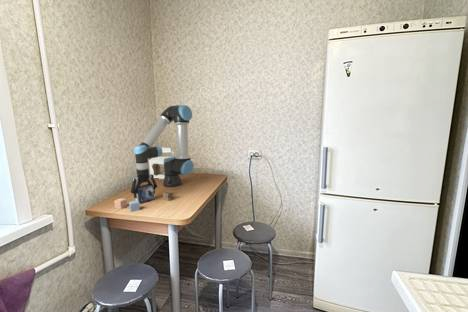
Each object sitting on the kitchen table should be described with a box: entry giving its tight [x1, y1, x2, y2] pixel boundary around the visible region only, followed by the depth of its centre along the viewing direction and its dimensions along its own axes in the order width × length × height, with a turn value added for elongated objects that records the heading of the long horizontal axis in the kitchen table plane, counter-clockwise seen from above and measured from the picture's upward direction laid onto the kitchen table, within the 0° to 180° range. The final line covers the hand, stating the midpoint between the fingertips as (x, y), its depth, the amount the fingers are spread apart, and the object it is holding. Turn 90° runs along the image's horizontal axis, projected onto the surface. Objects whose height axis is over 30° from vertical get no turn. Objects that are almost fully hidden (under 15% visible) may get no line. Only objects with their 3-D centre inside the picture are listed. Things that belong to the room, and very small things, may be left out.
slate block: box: [128, 199, 140, 212], centre depth 153 cm, size 5×5×5 cm
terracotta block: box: [113, 198, 128, 210], centre depth 157 cm, size 5×5×5 cm
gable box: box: [148, 147, 177, 180], centre depth 229 cm, size 22×13×28 cm, turn 81°
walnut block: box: [162, 191, 175, 202], centre depth 170 cm, size 5×5×5 cm
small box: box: [137, 183, 155, 205], centre depth 167 cm, size 11×6×10 cm, turn 139°
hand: (145, 200), depth 168 cm, fingers closed on small box, 11 cm apart
